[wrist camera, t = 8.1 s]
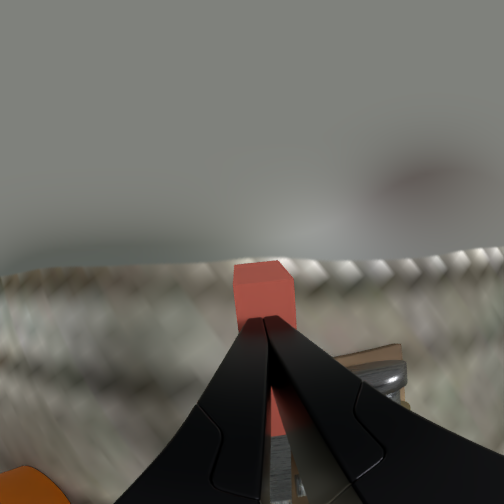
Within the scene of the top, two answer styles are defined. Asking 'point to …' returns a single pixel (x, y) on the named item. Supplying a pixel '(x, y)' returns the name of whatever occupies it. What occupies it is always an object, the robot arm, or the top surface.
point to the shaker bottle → (29, 488)
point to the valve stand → (377, 375)
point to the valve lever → (283, 304)
